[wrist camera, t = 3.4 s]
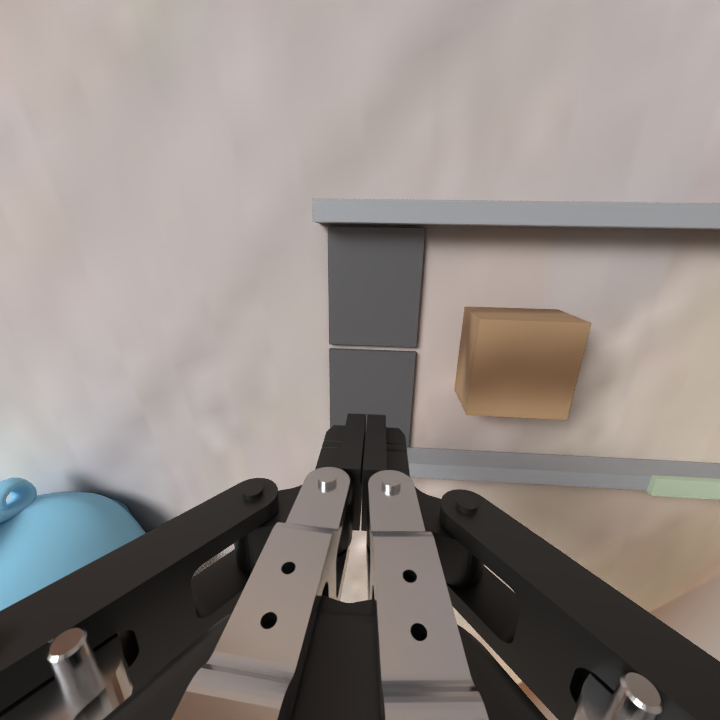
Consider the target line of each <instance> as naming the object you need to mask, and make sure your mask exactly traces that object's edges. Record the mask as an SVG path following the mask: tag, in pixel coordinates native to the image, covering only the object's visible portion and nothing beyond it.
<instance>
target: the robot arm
mask: <svg viewBox="0 0 720 720" xmlns="http://www.w3.org/2000/svg"><path fill="white" fill-rule="evenodd" d="M361 504H362V528H361V530H362V531H367V546H366V561H367V589H368V600H366V601H361V602H355V603H344V602H341V601H340V598H341V593H342V587H343V582H344V577H345V572H346V567H347V562H348V557H349V546H350V543H351V539H352V530H359V529H360V516H361ZM233 543H234V546H235V549H234V550H233V551H231V552H230V553H228V554H227V555H225V556H224V557H222V558H221V559H220V560H218V561H217V562H215V563H214V564H212V565H211V566H209V567H208V568H206V569H205V570H203V571H202V572H200V573H199V574H197V575H196V576H194V577H193V578H192V576H193V574H194V572H195V571H196V570H197V569H198V568H199V567H200V566H201V565H202V564H203V563H205V562H206V561H208V560H209V559H211V558H212V557H214V556H215V555H217V554H218V553H220V552H221V551H223V550H224V549H226V548H227V547H229V546H230V545H232V544H233ZM484 564H485V565H486V566H487V567H488V568H489V569H490V570H491V571H493V572H494V573H495V574H496V575H497V576H498V577H500V578H501V579H502V580H503V581H504V582H505V583H506V584H508V585H509V586H510V587H511V588H512V589H513V591H514V592H515V593H516V594H515V593H514V592H513V591H512V590H511V589H510V588H508V587H507V586H506V585H505V584H504V583H503V582H502V581H500V580H499V579H498V578H497V577H496V576H495V575H494V574H492V573H491V572H490V571H489V570H488V569H487V568H486V567H484ZM452 606H453V607H454V608H455V609H456V610H457V611H458V612H459V613H460V614H461V616H462V617H463V618H464V619H465V620H466V621H467V622H468V623H469V624H470V625H471V626H472V627H473V628H474V629H475V631H476V632H477V633H478V634H479V635H480V636H481V637H482V638H483V639H484V640H485V641H486V642H487V643H488V645H489V646H490V647H491V648H492V649H493V650H494V651H495V652H496V653H497V654H498V655H499V656H500V657H501V658H502V660H503V661H504V662H505V663H506V664H507V665H508V666H509V667H510V668H511V669H512V670H513V671H514V672H515V674H516V675H517V676H518V677H519V678H520V679H521V680H522V681H523V682H524V683H525V684H526V685H527V686H528V687H529V689H530V690H531V691H532V692H533V693H534V694H535V695H536V696H537V697H538V698H539V699H540V700H541V701H542V702H543V704H545V706H546V707H547V708H548V709H549V710H550V711H551V712H552V713H553V714H554V715H555V716H556V718H558V720H720V662H719V661H718V660H716V659H715V658H714V657H712V656H711V655H709V654H708V653H706V652H705V651H704V650H702V649H701V648H699V647H698V646H696V645H695V644H693V643H692V642H691V641H689V640H688V639H686V638H685V637H683V636H682V635H680V634H679V633H678V632H676V631H675V630H673V629H672V628H670V627H669V626H668V625H666V624H665V623H663V622H662V621H660V620H659V619H657V618H656V617H655V616H653V615H652V614H650V613H649V612H647V611H646V610H644V609H643V608H642V607H640V606H639V605H637V604H636V603H634V602H633V601H632V600H630V599H629V598H627V597H626V596H624V595H623V594H621V593H620V592H619V591H617V590H616V589H614V588H613V587H611V586H610V585H608V584H607V583H606V582H604V581H603V580H601V579H600V578H598V577H597V576H595V575H594V574H593V573H591V572H590V571H588V570H587V569H585V568H584V567H583V566H581V565H580V564H578V563H577V562H575V561H574V560H572V559H571V558H570V557H568V556H567V555H565V554H564V553H562V552H561V551H559V550H558V549H557V548H555V547H554V546H552V545H551V544H549V543H548V542H547V541H545V540H544V539H542V538H541V537H539V536H538V535H536V534H535V533H534V532H532V531H531V530H529V529H528V528H526V527H525V526H523V525H522V524H521V523H519V522H518V521H516V520H515V519H513V518H512V517H510V516H509V515H508V514H506V513H505V512H503V511H502V510H500V509H499V508H498V507H496V506H495V505H493V504H492V503H490V502H489V501H487V500H486V499H485V498H483V497H482V496H480V495H478V494H476V493H474V492H471V491H467V490H452V491H449V492H447V493H445V494H444V495H443V497H442V499H439V498H436V497H432V496H429V495H427V494H425V493H423V492H421V491H419V490H418V489H417V488H416V487H415V486H414V483H413V481H412V479H411V478H410V472H409V463H408V455H407V447H406V438H405V435H404V433H403V432H402V431H401V430H400V429H399V428H389V427H386V415H378V414H368V415H367V426H366V414H353V413H348V415H347V420H346V425H345V426H344V425H333V426H332V427H331V428H330V429H329V430H328V431H327V432H326V435H325V439H324V442H323V445H322V449H321V452H320V455H319V459H318V462H317V466H316V469H315V470H314V471H312V472H310V473H309V474H308V475H307V476H306V478H305V480H304V483H303V485H301V486H298V487H295V488H291V489H286V490H280V491H278V488H277V486H276V484H275V483H274V482H273V481H271V480H269V479H265V478H253V479H249V480H246V481H243V482H241V483H239V484H237V485H235V486H233V487H232V488H230V489H228V490H226V491H224V492H222V493H220V494H218V495H217V496H215V497H213V498H211V499H209V500H207V501H205V502H203V503H202V504H200V505H198V506H196V507H194V508H192V509H190V510H188V511H187V512H185V513H183V514H181V515H179V516H177V517H175V518H173V519H172V520H170V521H168V522H166V523H164V524H162V525H160V526H158V527H157V528H155V529H153V530H151V531H149V532H147V533H145V534H143V535H142V536H140V537H138V538H136V539H134V540H132V541H130V542H128V543H127V544H125V545H123V546H121V547H119V548H117V549H115V550H114V551H112V552H110V553H108V554H106V555H104V556H102V557H100V558H99V559H97V560H95V561H93V562H91V563H89V564H87V565H85V566H84V567H82V568H80V569H78V570H76V571H74V572H72V573H70V574H69V575H67V576H65V577H63V578H61V579H59V580H57V581H55V582H54V583H52V584H50V585H48V586H46V587H44V588H42V589H40V590H39V591H37V592H35V593H33V594H31V595H29V596H27V597H25V598H24V599H22V600H20V601H18V602H16V603H14V604H12V605H11V606H9V607H7V608H5V609H3V610H1V611H0V720H547V718H545V716H544V715H543V714H542V713H541V712H540V710H539V709H538V708H537V707H536V706H535V705H534V703H533V702H532V701H531V700H530V699H529V698H528V697H527V695H526V694H525V693H524V692H523V691H522V690H521V688H520V687H519V686H518V685H517V684H516V683H515V682H514V680H513V679H512V678H511V677H510V676H509V675H508V674H507V672H506V671H505V670H504V669H503V668H502V667H501V665H500V664H499V663H498V662H497V661H496V660H495V659H494V657H493V656H492V655H491V654H490V653H489V652H488V650H487V649H486V648H485V647H484V646H483V645H482V644H481V643H480V642H479V641H478V640H477V639H476V638H475V637H473V636H472V635H471V634H470V633H469V632H467V631H466V630H465V629H463V628H462V627H460V626H459V625H457V622H456V619H455V615H454V611H453V607H452Z"/></svg>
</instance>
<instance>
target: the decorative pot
mask: <svg viewBox="0 0 720 720" xmlns="http://www.w3.org/2000/svg"><path fill="white" fill-rule="evenodd" d="M10 492H11V498H10V500H9V501H8V502H6V497H7V496H8V494H9V493H10ZM143 534H145V531H144V530H143V529H142V527H141V526H140V525H139V524H138V522H137V521H136V520H135V519H134V518H133V517H132V515H131V514H130V511H129V509H128V507H127V506H126V505H125V504H123V503H122V502H120V501H117V500H111V499H109V498H107V497H105V496H102V495H99V494H95V493H88V492H61V493H52V494H44V495H37V491H36V488H35V487H34V485H32V484H31V483H30V482H28V481H27V480H24V479H21V478H10V479H6V480H3V481H1V482H0V611H1V610H3V609H5V608H7V607H9V606H11V605H12V604H14V603H16V602H18V601H20V600H22V599H24V598H25V597H27V596H29V595H31V594H33V593H35V592H37V591H39V590H40V589H42V588H44V587H46V586H48V585H50V584H52V583H54V582H55V581H57V580H59V579H61V578H63V577H65V576H67V575H69V574H70V573H72V572H74V571H76V570H78V569H80V568H82V567H84V566H85V565H87V564H89V563H91V562H93V561H95V560H97V559H99V558H100V557H102V556H104V555H106V554H108V553H110V552H112V551H114V550H115V549H117V548H119V547H121V546H123V545H125V544H127V543H128V542H130V541H132V540H134V539H136V538H138V537H140V536H142V535H143Z"/></svg>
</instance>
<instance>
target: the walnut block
mask: <svg viewBox="0 0 720 720" xmlns="http://www.w3.org/2000/svg"><path fill="white" fill-rule="evenodd" d="M590 327H591V323H590V322H587V321H585V320H582V319H580V318H578V317H575V316H573V315H570V314H568V313H565V312H563V311H560V310H555V309H524V308H493V307H465V308H464V316H463V324H462V333H461V341H460V349H459V357H458V365H457V373H456V381H455V389H454V390H455V392H456V394H457V396H458V398H459V400H460V402H461V404H462V406H463V409H464V411H465V413H466V415H477V416H497V417H517V418H538V419H558V420H567V418H568V414H569V410H570V406H571V402H572V398H573V394H574V390H575V386H576V382H577V378H578V374H579V370H580V366H581V362H582V358H583V355H584V351H585V347H586V343H587V339H588V335H589V331H590Z"/></svg>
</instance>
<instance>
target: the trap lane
mask: <svg viewBox="0 0 720 720" xmlns="http://www.w3.org/2000/svg"><path fill="white" fill-rule="evenodd" d="M312 213H313V222H316V223H339V224H401V225H462V226H524V227H585V228H647V229H708V230H720V203H639V202H557V201H476V200H395V199H313V198H312ZM424 239H425V228H383V227H328V286H329V344H342V345H370V346H398V347H416V344H417V331H418V318H419V305H420V292H421V278H422V265H423V252H424ZM415 357H416V351H391V350H364V349H336V348H330V349H329V364H330V428H331V427H332V426H333V425H344V426H345V425H346V420H347V415H348V413H353V414H366V426H367V415H368V414H378V415H386V427H389V428H399V429H400V430H401V431H402V432H403V433H404V435H405V438H406V447H407V455H408V463H409V472H410V477H414V478H432V479H450V480H468V481H485V482H503V483H521V484H539V485H557V486H574V487H592V488H610V489H628V490H645V491H646V492H647V493H648V494H649V495H650V496H664V497H681V498H699V499H716V500H720V463H701V462H682V461H662V460H643V459H624V458H604V457H585V456H565V455H546V454H527V453H507V452H488V451H468V450H449V449H430V448H410V447H409V436H410V423H411V410H412V397H413V384H414V371H415Z"/></svg>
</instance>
